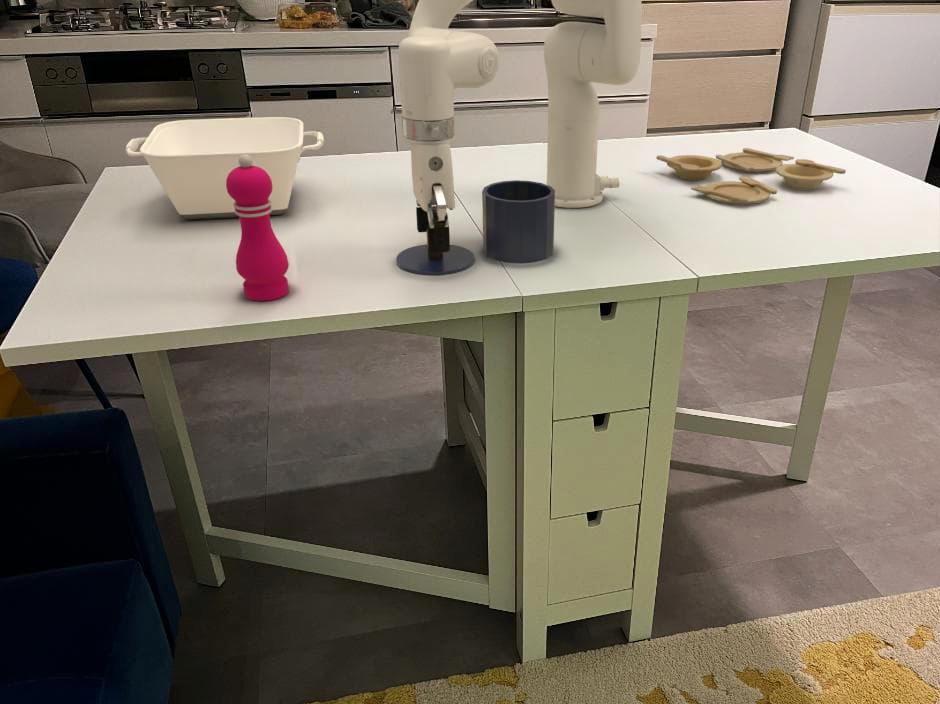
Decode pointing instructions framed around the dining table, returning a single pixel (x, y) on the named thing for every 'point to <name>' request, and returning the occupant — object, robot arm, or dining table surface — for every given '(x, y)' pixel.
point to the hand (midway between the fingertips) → (433, 241)
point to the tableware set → (749, 189)
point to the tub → (222, 160)
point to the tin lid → (434, 260)
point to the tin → (518, 221)
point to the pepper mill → (257, 234)
